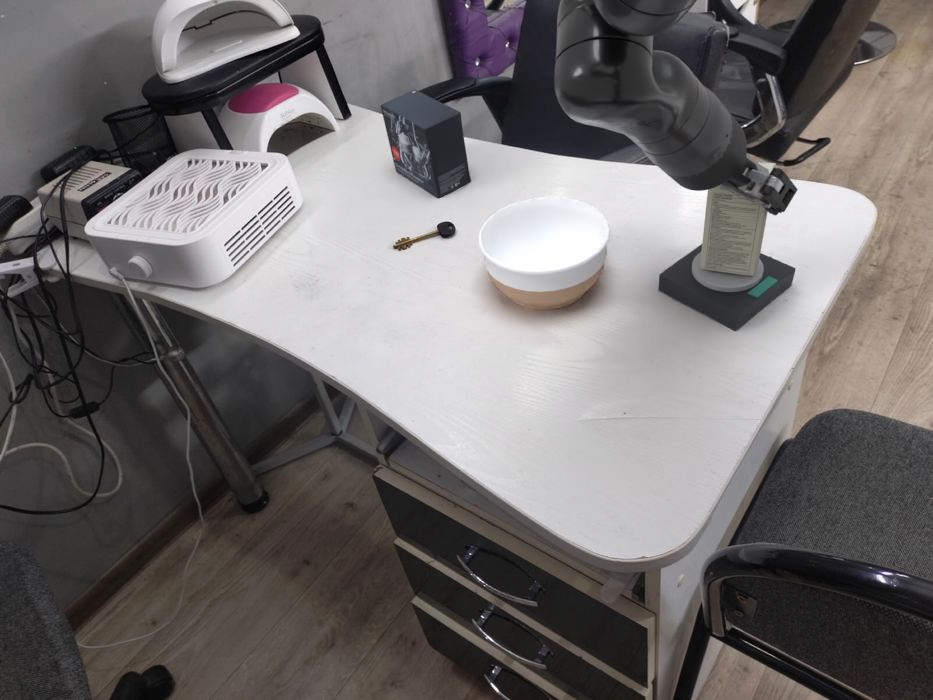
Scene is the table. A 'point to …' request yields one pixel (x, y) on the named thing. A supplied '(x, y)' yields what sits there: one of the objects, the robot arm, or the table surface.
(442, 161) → the small box
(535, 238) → the bowl
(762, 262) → the scale
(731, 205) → the cosmetic box
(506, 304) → the table surface
